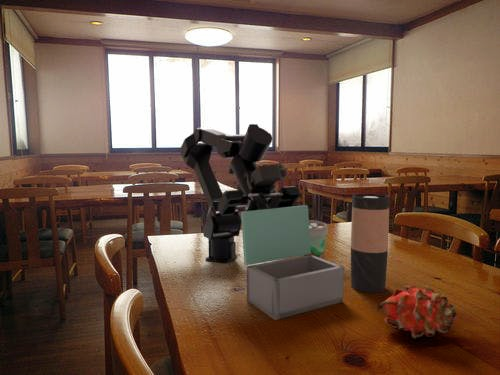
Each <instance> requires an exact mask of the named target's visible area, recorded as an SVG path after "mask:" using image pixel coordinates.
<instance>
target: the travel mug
mask: <svg viewBox="0 0 500 375" xmlns="http://www.w3.org/2000/svg"><path fill="white" fill-rule="evenodd" d="M351 202H352V203H351V204H352V205H351V229H350V230H351V232H350V286H351V288H352V289H353V290H354V291H355V290H356V291H357V292H361V293H364V294H365V293H367V294H378V293H379V294H380V293H382V292H384V291H385V290H386V281H387V269H388V254H389V251H388V250H389V234H390V233H389V228H390V195H389V194H388V195H387V194H382V193H377V194H376V195H372V196H370V195H367V194H366V193H354V194H352V200H351Z"/></svg>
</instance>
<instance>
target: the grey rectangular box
mask: <svg viewBox="0 0 500 375" xmlns="http://www.w3.org/2000/svg"><path fill="white" fill-rule="evenodd" d="M344 269H345V267H344V266H342V265H339V264H338V263H333V262H331V261H329V260H326V259H325V258H324V259H321V258H319V257H316V256H313V255H306V256H303V255H301V256H296V257H290V258H285V259H279V260H273V261H268V262H262V263H257V264H251V265H246V301H247V302H248V303H250V304H251V305H253V306H254V307H255V308H257V309H259V310H260V311H261V312H262V313H263V314H266V315H267V316H268V317H269V318H271V319H272V320H274V321H277V320H281V319H284V318H288V317H292V316H297V315H300V314H302V313H306V312H307V313H308V312H310V311H314V310H318V309H321V308H325V307H328V306H333V305H336V304H340V303H343V302H344V301H343V300H344V276H345V274H344V273H345V271H344Z"/></svg>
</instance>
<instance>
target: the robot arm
mask: <svg viewBox="0 0 500 375" xmlns="http://www.w3.org/2000/svg"><path fill="white" fill-rule="evenodd" d="M272 142H273V135H272V134H271V132H269V131H267V130H266V129H264V128H262V127H260V126H259V125H258V124H256V123H255V124H254V123H250V124H248V127H247V130H246V133H245V134H227V133H224V132H222V131H219V130H216V129H214V128H212V127H205V126H203V127H201V126H199V127H196V128H195V129H194V131H193V133H191V134H190V135H188V136H186V138H184V139H183V142H182V144H181V146H180V149H179V150H180V157H181V158H182V160H183V161H184V164H185V165H186V166H187V167H189V168H190V169H192V170H193V171H194V173H195V176H196V178H197V181H198V184H199V186H200V188H201V189H200V190H201V191H202V193H203V196H204V199H205V201H206V204H207V206H208V211H207V215H206V221H205V223H204V225H203V227H202V235H203V237H204V238H206V239H208V240H207V241H208V256H207V257H205V261H208V262H209V261H211V262H217V263H223V264H227V263H229V262H230V261H232V260H234V259H236V258H237V257H238V255H237V252H236V250H237V246H236V245H237V244H236V242H235V237H239V236H240V232H241V228H242V221H241V214H240V210H239V209H238V208H237V207H239V208H240V207H245V209H246V210H245V211H253V210H263V209H273V208H283V207H293V206H294V205H295V204H296V202H297V201H298V199H299V198H300V197H301V195H302V193H301V191H300V188H298V186H295V185H292V186H291V185H289V186H281V187H280V189H279V190H278V192H274V193H272V192H271V191H274V189H275V187H276V186H275V184H276V183H278V181H281V180H282V179H284V178H285V177H287V171H286V168H285V166H284V165H283V163H281V162H280V163H275V164H264V165H259V166H258V164H257V163H258V162H261V161H262V160H264V159H263V158H264V157H265V155H266V153H267V151H268V149H269V148H270V146H271V144H272ZM214 149H216V153H217V154H218V155H219V156H220V157H222V158H223V159H232V160H231V161H230V163H229V165H230V166H229V168H228V174H229V175H234V176H235V179H236V181H237V183H238V184H237V185H238V186H237V187H236V189H232V190H225V191H224V192H223V191H222V189H221V187H220V185H219V182H218V180H217V177H216V175H215V173H214V170H213V167H212V166H211V163H210V159H211V155H212V153H213V151H214Z"/></svg>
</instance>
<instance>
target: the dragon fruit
mask: <svg viewBox="0 0 500 375" xmlns="http://www.w3.org/2000/svg"><path fill="white" fill-rule="evenodd" d="M423 288H425V289H423ZM423 288H422V287H416V286H415V285H411V284H410V285H405V287H404V288H401V289H399V288H398V289H395V291H394V293H393V294H392V295H391V296H390V297H388V298H386V300H384V301H382V302H380V304H379V305H378V306H377V307H376V312H379V311H381V312H382V313H383V314H384V315H386V317H384V322H385V323H386V324H387V325H389V326H390V327H391V328H393V329H397V328H398V330H401V331H404V332H411V337H412V338H413V339H417V338H420V337H423V336H424V335H425V336H426V337H427V338H428V337H429V338H430V337H431V338H432V337H434V335H436V332H437V331H438V332H439V333H442V334H443V333H444V334H446V333H449V330H450V329H451V328H452V326H453V323H454V320H455V318H456V316H457V315H458V313H457V311H455V307H454V305H453V304H452V303H451V302H450V301H449V300H448V297H446V296H445V295H442V294H440V293H436V291H435V290H434V289H432V288H431V287H430V286H428V285H423ZM387 315H388V316H387Z"/></svg>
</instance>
